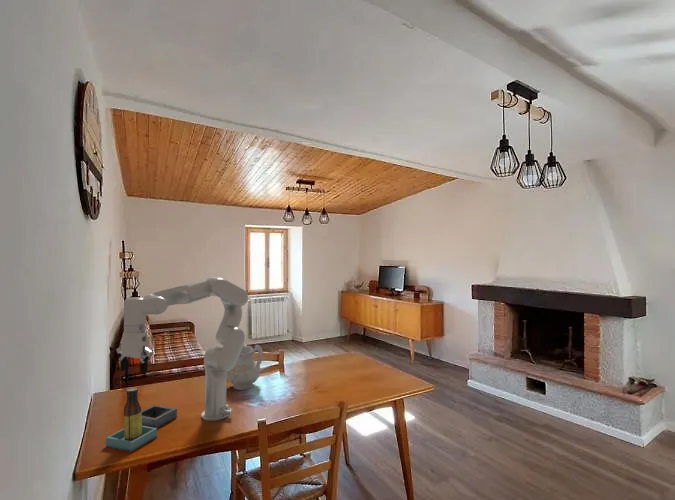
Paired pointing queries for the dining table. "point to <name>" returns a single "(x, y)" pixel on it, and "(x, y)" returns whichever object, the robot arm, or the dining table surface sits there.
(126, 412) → the sauce bottle
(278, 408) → the dining table surface
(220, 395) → the robot arm
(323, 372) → the dining table surface
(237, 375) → the ceramic pitcher
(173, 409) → the steel collar
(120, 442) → the teal tray
